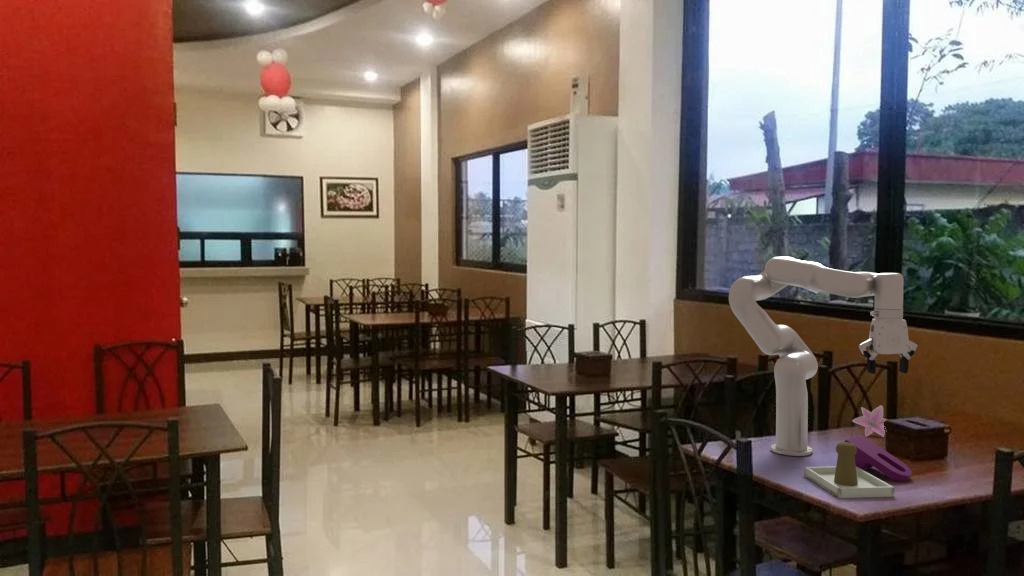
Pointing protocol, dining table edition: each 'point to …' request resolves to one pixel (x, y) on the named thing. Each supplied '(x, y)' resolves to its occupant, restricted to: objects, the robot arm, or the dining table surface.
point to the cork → (846, 464)
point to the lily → (872, 421)
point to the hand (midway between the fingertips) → (887, 372)
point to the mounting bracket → (878, 459)
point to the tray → (865, 487)
